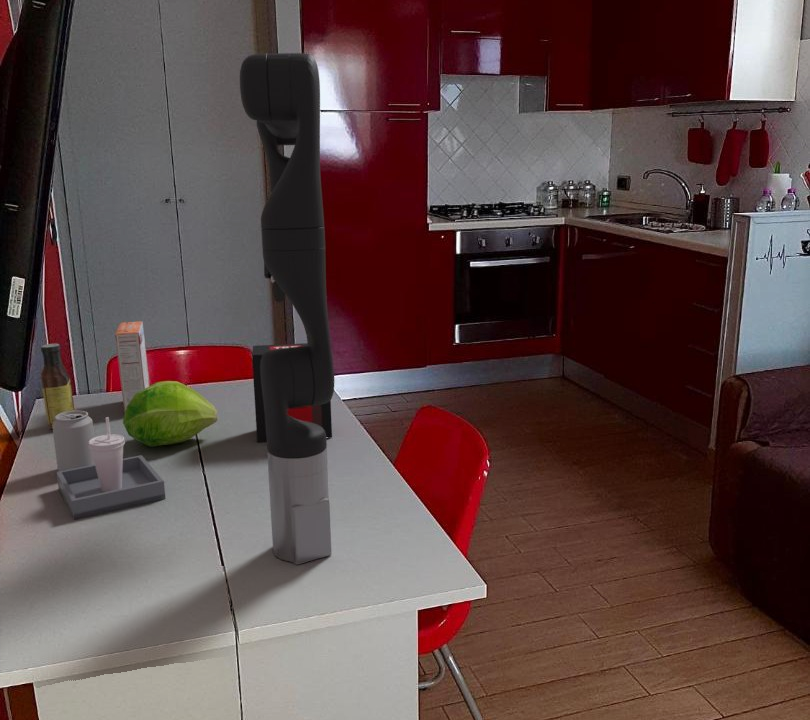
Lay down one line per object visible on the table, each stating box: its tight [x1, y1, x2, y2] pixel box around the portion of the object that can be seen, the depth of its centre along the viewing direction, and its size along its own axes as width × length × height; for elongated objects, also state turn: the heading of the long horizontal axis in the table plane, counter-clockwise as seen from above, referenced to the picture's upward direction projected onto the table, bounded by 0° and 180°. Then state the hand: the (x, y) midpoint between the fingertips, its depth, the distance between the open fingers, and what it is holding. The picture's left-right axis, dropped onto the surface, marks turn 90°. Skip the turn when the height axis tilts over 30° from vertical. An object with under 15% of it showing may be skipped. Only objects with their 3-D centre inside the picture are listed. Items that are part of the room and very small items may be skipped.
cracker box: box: [114, 320, 151, 414], centre depth 203 cm, size 14×6×21 cm, turn 14°
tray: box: [56, 454, 166, 520], centre depth 152 cm, size 16×16×4 cm
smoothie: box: [89, 416, 126, 492], centre depth 151 cm, size 6×6×14 cm
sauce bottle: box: [40, 343, 76, 430], centre depth 188 cm, size 7×6×20 cm
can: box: [52, 410, 95, 472], centre depth 163 cm, size 8×8×12 cm
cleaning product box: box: [251, 342, 333, 444], centre depth 182 cm, size 16×9×20 cm, turn 99°
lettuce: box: [122, 380, 219, 448], centre depth 178 cm, size 15×20×14 cm
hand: (295, 303), depth 153 cm, fingers open, 8 cm apart
